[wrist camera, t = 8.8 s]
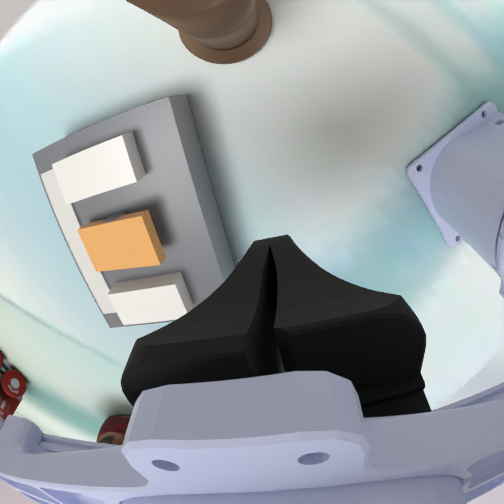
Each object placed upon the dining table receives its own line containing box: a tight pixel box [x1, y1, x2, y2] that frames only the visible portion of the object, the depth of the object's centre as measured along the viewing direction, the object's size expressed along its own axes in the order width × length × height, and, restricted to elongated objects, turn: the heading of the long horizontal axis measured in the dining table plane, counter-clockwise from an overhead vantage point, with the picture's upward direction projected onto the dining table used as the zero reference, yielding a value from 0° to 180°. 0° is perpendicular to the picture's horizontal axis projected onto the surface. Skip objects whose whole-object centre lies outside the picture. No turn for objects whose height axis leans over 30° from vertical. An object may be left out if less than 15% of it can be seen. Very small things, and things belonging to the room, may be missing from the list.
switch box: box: [32, 95, 235, 328], centre depth 20 cm, size 10×14×5 cm
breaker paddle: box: [77, 210, 166, 272], centre depth 18 cm, size 5×3×2 cm, turn 103°
